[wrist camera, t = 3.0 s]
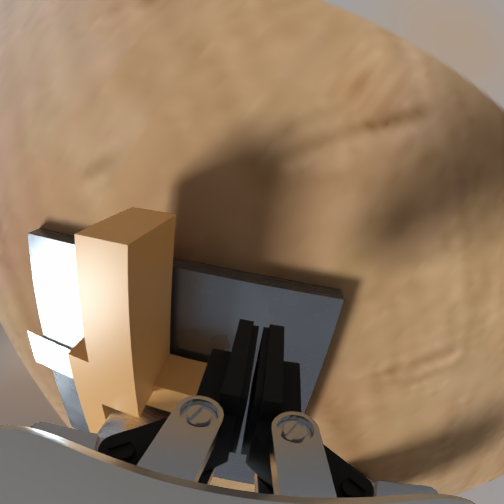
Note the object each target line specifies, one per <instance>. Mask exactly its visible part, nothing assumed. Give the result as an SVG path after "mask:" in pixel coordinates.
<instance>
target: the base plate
mask: <svg viewBox="0 0 504 504" xmlns="http://www.w3.org/2000/svg"><path fill="white" fill-rule="evenodd" d="M28 241H29V251H30V260H31V269H32V276H33V283H34V289H35V295H36V301H37V307H38V312H39V317H40V322H41V326H42V331H43V335H44V336H42V335H39V334H37V333H35V332H33V331H31V330H28V335H29V339H30V343H31V346H32V350H33V353H34V357H35V360H36V361H37V362H39V363H41V364H43V365H45V366H47V367H49V368H51V369H52V370H53V373H54V376H55V380H56V383H57V386H58V389H59V392H60V395H61V398H62V401H63V404H64V407H65V410H66V412H67V415H68V418H69V420H70V423H71V425H72V427H74V428H76V429H78V430H81V431H86V432H90V431H89V428H88V425H87V422H86V419H85V416H84V413H83V410H82V407H81V403H80V400H79V397H78V393H77V390H76V386H75V382H74V378H73V375H72V371H71V367H70V363H69V358H68V353H69V352H70V351H71V350H72V349H73V347H74V346H75V345H76V344H77V343H78V342H79V341H80V340H81V339H82V338H83V337H84V332H83V325H82V318H81V310H80V302H79V293H78V283H77V271H76V257H75V237H74V236H70V235H66V234H61V233H57V232H52V231H48V230H43V229H37V230H34V231H32V232H30V233H28ZM343 302H344V298H343V294H342V290H340V289H334V288H329V287H323V286H318V285H312V284H307V283H301V282H296V281H290V280H285V279H280V278H274V277H269V276H264V275H259V274H253V273H248V272H243V271H238V270H233V269H228V268H223V267H217V266H212V265H207V264H202V263H197V262H192V261H187V260H183V259H178V258H173V269H172V289H171V317H170V354H173V355H177V356H180V357H184V358H188V359H192V360H196V361H200V362H204V363H208V360H209V357H210V354H211V351H212V349H213V348H214V349H219V350H224V351H230V352H231V351H232V347H233V343H234V339H235V335H236V332H237V328H238V324H239V320H240V319H244V320H250V321H254V325H256V326H259V331H258V337H257V344H256V351H255V357H254V364H253V370H252V377H251V383H250V389H249V395H248V401H247V406H246V410H245V415H244V419H243V424H242V428H241V432H240V437H239V441H238V446H237V450H236V453H231V452H229V457H228V462H226V463H224V464H221V465H219V466H217V467H216V469H215V473H214V475H213V476H214V477H218V478H223V479H228V480H233V481H238V482H243V483H249V484H255V483H254V475H255V472H254V471H253V470H252V469H251V468H250V467H249V466H248V465H247V463H245V462H246V456H247V455H243V454H241V449H242V443H243V436H244V430H245V424H246V417H247V411H248V405H249V398H250V392H251V385H252V380H253V375H254V371H255V366H256V361H257V356H258V352H259V347H260V342H261V337H262V332H263V328H264V327H267V328H269V326H270V324H273V325H279V326H284V361H288V362H295V363H299V364H300V381H301V413H303V414H304V412H305V410H306V407H307V405H308V402H309V400H310V397H311V395H312V392H313V390H314V387H315V384H316V382H317V379H318V376H319V374H320V371H321V368H322V365H323V362H324V360H325V357H326V354H327V351H328V348H329V345H330V342H331V339H332V336H333V333H334V330H335V327H336V324H337V321H338V318H339V315H340V312H341V308H342V305H343ZM170 414H171V412H168V411H165V410H161V409H158V408H155V407H152V406H149V405H146V406H145V408H144V410H143V411H142V413H141V415H140V417H139V418H138V417H135V416H132V415H130V414H127V413H124V412H121V411H119V410H116V409H114V408H113V410H112V412H111V413H110V415H109V416H108V418H107V419H106V421H105V422H104V424H103V426H102V427H101V429H100V430H99V432H98V436H99V437H102V438H106V437H108V436H111V435H113V434H117V433H120V432H123V431H127V430H130V429H133V428H136V427H140V426H143V425H146V424H149V423H152V422H155V421H158V420H161V419H164V418H167V417H169V415H170Z"/></svg>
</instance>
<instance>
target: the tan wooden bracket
mask: <svg viewBox="0 0 504 504" xmlns="http://www.w3.org/2000/svg"><path fill="white" fill-rule="evenodd" d="M175 224H176V214H171V213H165V212H159V211H153V210H147V209H140V208H134V207H132V208H130V209H127V210H125V211H123V212H120V213H118V214H116V215H114V216H111V217H109V218H107V219H105V220H103V221H100V222H98V223H96V224H94V225H92V226H90V227H88V228H86V229H83V230H81V231H79V232H77V233H75V234H74V236H75V257H76V271H77V283H78V293H79V302H80V310H81V318H82V325H83V332H84V337H83V338H82V339H81V340H80V341H79V342H78V343H77V344H76V345H75V346H74V347H73V349H72V350H71V351H70V352H69V353H68V358H69V363H70V367H71V371H72V375H73V378H74V382H75V386H76V390H77V393H78V397H79V400H80V403H81V407H82V410H83V413H84V416H85V419H86V422H87V425H88V428H89V431H90V432H91V433H96V434H98V432H99V430H100V429H101V427H102V426H103V424H104V422H105V421H106V419H107V418H108V416H109V415H110V413H111V412H112V410H113V408H114V409H116V410H119V411H121V412H124V413H127V414H130V415H132V416H135V417H138V418H139V417H140V415H141V413H142V411H143V410H144V408H145V406H146V405H149V406H152V407H155V408H158V409H161V410H165V411H168V412H172V411H173V409H174V408H175V406H176V405H177V403H178V402H179V401H180V400H182V399H184V398H186V397H189V396H196V395H197V392H198V389H199V386H200V383H201V380H202V377H203V375H204V372H205V369H206V366H207V363H204V362H200V361H196V360H192V359H188V358H184V357H180V356H177V355H173V354H170V317H171V289H172V269H173V252H174V238H175Z"/></svg>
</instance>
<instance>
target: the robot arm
mask: <svg viewBox="0 0 504 504" xmlns="http://www.w3.org/2000/svg"><path fill="white" fill-rule="evenodd" d="M258 331H259V326H256V325H254V321H250V320H244V319H240V320H239V324H238V328H237V332H236V335H235V339H234V343H233V347H232V351H231V352H230V351H224V350H219V349H214V348H213V349H212V351H211V354H210V357H209V360H208V363H207V366H206V369H205V372H204V375H203V377H202V380H201V383H200V386H199V389H198V392H197V395H196V396H189V397H186V398H184V399H182V400H180V401H179V402H178V403H177V405H176V406H175V408H174V409H173V411H172V412H171V414H170V415H169V417H167V418H164V419H161V420H158V421H155V422H152V423H149V424H146V425H143V426H140V427H136V428H133V429H130V430H127V431H123V432H120V433H117V434H113V435H111V436H108V437H106V438H102V437H99V436H98V434H96V433H91V432H86V431H81V430H76V429H72V428H67V427H63V426H59V425H55V424H51V423H46V422H39V423H35V424H34V425H32V426H31V427H25V426H18V425H0V504H475V503H473V502H472V501H470V500H468V499H465V498H462V497H457V496H452V495H446V494H438V492H437V491H436V490H435V489H433V488H432V487H428V486H422V485H411V484H402V483H394V482H386V481H380V480H378V481H377V482H376V483H374V482H371V481H370V480H369V479H368V478H367V477H366V476H364V475H363V474H362V473H360V472H359V471H358V470H356V469H355V468H353V467H352V466H351V465H349V464H348V463H347V462H345V461H344V460H343V459H342V458H340V457H339V456H338V455H336V454H335V453H334V452H332V451H331V450H330V449H329V448H327V447H326V446H325V445H324V444H323V442H322V438H321V434H320V430H319V427H318V425H317V423H316V422H315V421H314V420H313V419H312V418H311V417H309V416H308V415H306V414H303V413H301V381H300V364H299V363H295V362H288V361H284V326H279V325H273V324H270V326H269V328H267V327H264V328H263V332H262V337H261V342H260V347H259V352H258V356H257V361H256V366H255V371H254V375H253V380H252V385H251V392H250V398H249V405H248V411H247V417H246V424H245V430H244V436H243V443H242V449H241V454H243V455H247V456H246V462H245V463H247V465H248V466H249V467H250V468H251V469H252V470H253V471H254V472H255V475H254V483H255V492H248V491H241V490H235V489H229V488H223V487H218V486H213V485H209V484H210V482H211V479H212V477H213V475H214V473H215V469H216V467H217V466H219V465H221V464H224V463H226V462H228V457H229V452H231V453H236V450H237V446H238V441H239V437H240V432H241V428H242V424H243V419H244V415H245V410H246V406H247V401H248V395H249V389H250V383H251V377H252V370H253V364H254V357H255V351H256V344H257V337H258Z"/></svg>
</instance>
